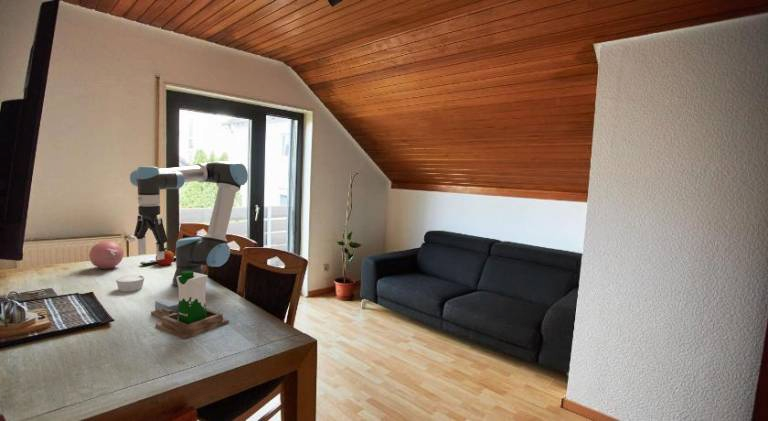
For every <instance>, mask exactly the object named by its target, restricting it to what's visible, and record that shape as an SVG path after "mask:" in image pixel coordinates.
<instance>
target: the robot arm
mask: <svg viewBox="0 0 768 421" xmlns="http://www.w3.org/2000/svg"><path fill="white" fill-rule="evenodd" d="M248 178H249V175H248V170H247V168H246V166H245V165H244V164H243V163H242V162H238V161H221V160H218V161H217V160H214V161H208V162H202V163H201V162H200V163H196V164H194V165H191V166H188V165H187V166H180V167H179V166H177V167H165V168H159V167H158V166H142V165H141V166H138V167H137V168H136V169H135V170H133V171H131V173H130V175H129V180H130V183H131V184H132V185H133V186H135V187H137V204H138V207H137V209H138V215H137V218H136V219H137V222H136V225H135V230H134V233H133V236H134V237H135V238H136V239H137V253H138V254H137V255H138V256H139V255H141V256H142V255H146V254H147V243H146V238H147V237H146V234H147V232H148V230H150V231H151V232H152V234H153V236H154V238H155V241H156V242H155V254H156V255H155V259H156V258H157V260H161V259H164V248H165V244H166V243H168V237H167V233H166V230H165V227H164V222H163V218H162V217H161V218H160V217H158V216H159V215H160V214H161V205H160V204H161V194H160V193H161V190H177V189H181V188H182V187H184V184H185V183H190V182H197V183H211V184H212V183H213V184H216V187H217V193H216V197H215V201H214V206H213V208H212V209H213V210H212V212H211V213H212V214H211V217H210V222H209V225H208V229H207V233H206V234H205V235H203V236H202V237H201V236H195V237H194V236H193V237H184V238H180V239H178V240H177V241H176V242H175V243H176V244H175V246H176V247H175V263H176V264H175V266H176V267H175V272H174V275H173V278H172V285H173V286H175V287H178V283H177V279H176V277H177V276H181V272H182V271H187V270H191V271H193V272H195V273H200V274H204V275H206V274H205V271H204V269H203V266H208V267H213V268H214V267H222V266H223V265H224V264H226V262H227V261H228V260H229V258H230V255H231V247H230V246H229V245H228V240H227V238H226V236H227V231H228V228H229V227H228V226H229V224H230V219H231V215H232V211H233V208H234V207H233V206H234V202H235V199H236V195H237V192H238V191H241V186H244V185H245V184H247V182H248Z"/></svg>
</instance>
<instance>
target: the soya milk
mask: <svg viewBox="0 0 768 421" xmlns="http://www.w3.org/2000/svg"><path fill="white" fill-rule="evenodd" d="M204 274H205V273H204ZM204 274H200V273H195V272H193V271H191V270H187V271H182V272H181V276H177V277H176V279H177V283H178V286H177V287H178V288H177V289H178V303H179V317H178V321H180V322H183V323H185V324H190V323H193V322H196V321H199V320H202V319H205V318H207V315H206V308H207V302H206V301H207V299H206V298H207V295H206V294H207V291H206V288H207V286H206V285H207V282H208V276H209V275H207V274H205V275H204Z"/></svg>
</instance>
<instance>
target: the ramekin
mask: <svg viewBox="0 0 768 421" xmlns="http://www.w3.org/2000/svg"><path fill="white" fill-rule="evenodd" d="M144 280H145V276H143V275H141V274H131V275H124V276H120V277H118V278H116V280H115V282H116V285H117V288H118V290H119V291H120V292H125V293H128V292H129V293H130V292H135V291H136V292H137V291H140V290H141V289H142V288H143V286H144Z"/></svg>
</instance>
